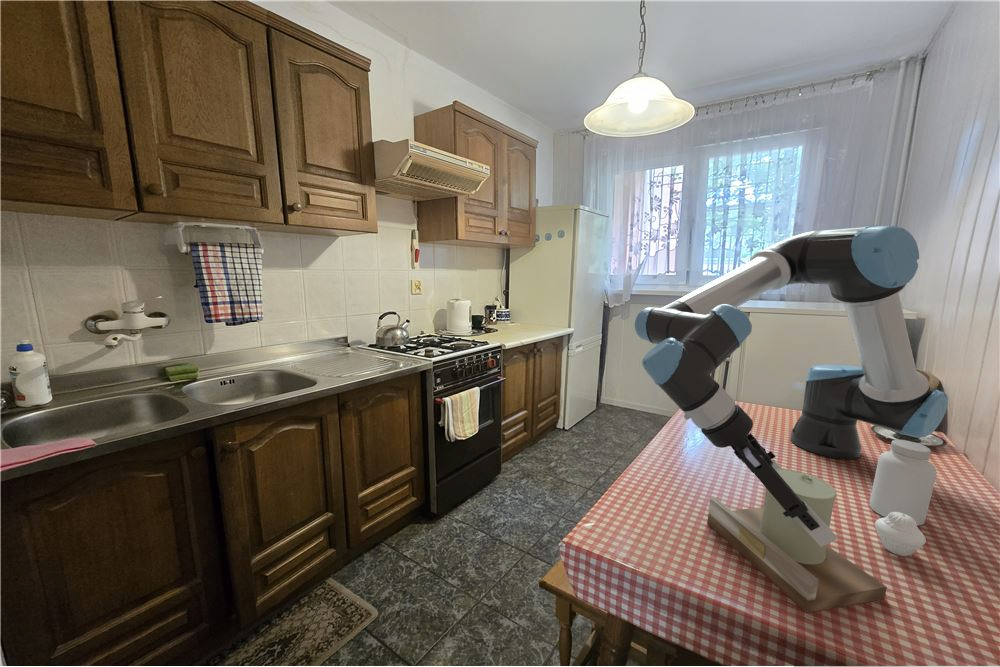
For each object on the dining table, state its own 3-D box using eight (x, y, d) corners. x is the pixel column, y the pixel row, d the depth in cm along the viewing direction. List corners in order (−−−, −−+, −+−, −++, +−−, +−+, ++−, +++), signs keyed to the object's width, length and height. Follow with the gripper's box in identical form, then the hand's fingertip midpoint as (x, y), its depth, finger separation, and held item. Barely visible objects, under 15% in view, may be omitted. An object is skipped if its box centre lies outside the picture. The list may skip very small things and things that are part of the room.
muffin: (925, 554, 67) (933, 517, 66) (916, 568, 64) (924, 530, 63) (877, 533, 72) (884, 499, 71) (866, 545, 69) (873, 509, 68)
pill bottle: (916, 532, 73) (932, 458, 70) (861, 508, 80) (874, 440, 77) (932, 520, 76) (947, 449, 74) (878, 498, 83) (891, 433, 81)
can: (832, 548, 65) (843, 482, 63) (816, 574, 60) (829, 503, 58) (768, 520, 72) (777, 460, 70) (749, 541, 67) (758, 477, 65)
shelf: (769, 515, 77) (772, 491, 76) (884, 598, 58) (890, 567, 57) (706, 522, 74) (709, 498, 74) (804, 613, 55) (810, 581, 54)
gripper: (689, 405, 79) (765, 486, 77) (712, 461, 56) (821, 580, 54) (721, 383, 77) (801, 466, 75) (758, 432, 54) (875, 556, 51)
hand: (809, 514), depth 64 cm, fingers open, 13 cm apart
